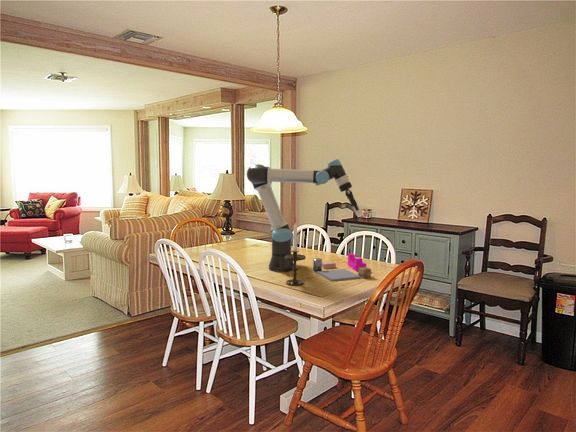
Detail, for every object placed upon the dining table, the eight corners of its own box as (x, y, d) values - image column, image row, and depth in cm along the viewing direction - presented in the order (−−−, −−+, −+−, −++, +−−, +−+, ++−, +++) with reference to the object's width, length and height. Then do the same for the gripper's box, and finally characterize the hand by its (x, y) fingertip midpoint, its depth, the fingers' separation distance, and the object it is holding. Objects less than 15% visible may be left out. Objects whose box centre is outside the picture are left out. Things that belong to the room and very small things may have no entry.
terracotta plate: (323, 269, 250) (323, 264, 250) (320, 267, 254) (320, 262, 254) (335, 268, 253) (335, 263, 252) (331, 266, 257) (331, 261, 257)
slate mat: (331, 281, 222) (331, 279, 222) (316, 273, 239) (316, 271, 238) (360, 278, 229) (360, 276, 229) (344, 270, 245) (344, 268, 245)
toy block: (366, 271, 245) (366, 258, 244) (356, 271, 244) (356, 259, 243) (357, 265, 260) (357, 253, 259) (347, 265, 259) (348, 253, 258)
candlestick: (283, 280, 222) (284, 215, 218) (304, 280, 223) (304, 215, 219) (285, 286, 212) (285, 218, 208) (306, 286, 212) (307, 218, 208)
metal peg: (315, 272, 241) (315, 260, 240) (311, 270, 246) (311, 258, 245) (323, 271, 243) (323, 259, 242) (319, 269, 248) (319, 258, 247)
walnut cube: (363, 278, 228) (363, 269, 228) (358, 276, 233) (358, 267, 232) (370, 277, 230) (371, 269, 230) (365, 275, 235) (366, 266, 234)
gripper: (350, 179, 240) (366, 212, 239) (348, 182, 265) (363, 212, 264) (338, 185, 241) (354, 218, 240) (338, 187, 265) (352, 217, 265)
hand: (359, 215), depth 252 cm, fingers open, 13 cm apart
